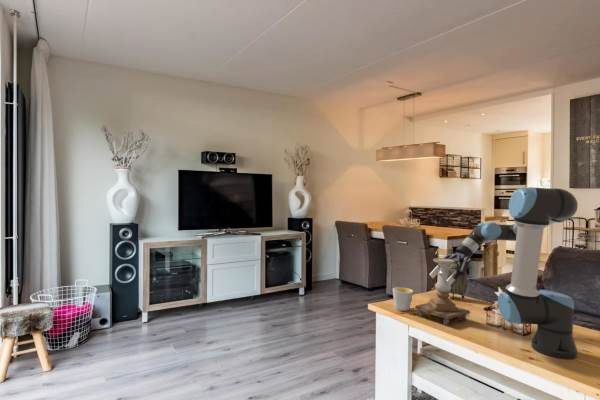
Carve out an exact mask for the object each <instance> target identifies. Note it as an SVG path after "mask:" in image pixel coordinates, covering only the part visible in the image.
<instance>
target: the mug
mask: <svg viewBox="0 0 600 400" xmlns="http://www.w3.org/2000/svg"><path fill="white" fill-rule="evenodd" d="M392 293H393V294H392V296H393V303H394V304H393V305H394V307H395V310H396V311H399V312H407V311H409V309H410V308H411V304H412V303H411V302H412V300H413V295H414V294H413V293H414V290H413V289H412V288H408V287H397V286H396V287H393V288H392Z"/></svg>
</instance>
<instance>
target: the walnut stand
mask: <svg viewBox="0 0 600 400" xmlns="http://www.w3.org/2000/svg"><path fill="white" fill-rule="evenodd" d="M414 307H415V310H417V311H418V313H417V314H418V317H419V318H424V316H425V313H427V314H429V315H433V316H436V317H439V318H442V319H443V322H442V323H443V324H442V325H443V326H445V327H449V326H450V320H452V319H454V318H458V317H459V318H460V321H462V322H466V321H467V315H469V314H470V313H471V311H470V309H466V308H462V307H459V306H456V307H457V308H458V309H457V312H444V311H434V310H433V309H432V308H431V307H430V306H429V305H428V302H427V303H421V304H417V305H415V306H414Z"/></svg>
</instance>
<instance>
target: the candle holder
mask: <svg viewBox="0 0 600 400" xmlns="http://www.w3.org/2000/svg"><path fill="white" fill-rule="evenodd" d="M432 261H433V262H434V263H436V262H437V263H438V264H439V266H440V270H439V272H438V275H439V278H438V280H437V282H436V283H435V289H436V290H437V291H436V293H435V294H436V297H434V298H430V299H429V300H428V301H427V303H428V305H429V306H430V307H431V308H432V309H433V310H434V311H444V312H457V309H458V308H457V307H458V306H456V305H457V304H456V303H454V302H453V301H452V300H451V299H450V298H449V297H450V296H451V295H450V293H448V291H450V290H451V285H449V284H448V282H447V281H446V280H447V277H448V274H449V272H448V267H450V266H451V264H454V263H455V260H452V259H445V258H443V257H442V258H441V257H440V258H439V257H436V258H433V260H432Z"/></svg>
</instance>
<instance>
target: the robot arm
mask: <svg viewBox="0 0 600 400" xmlns="http://www.w3.org/2000/svg"><path fill="white" fill-rule="evenodd" d="M578 206H579V204H578V201H577V197H575V195H574V194H572V193H571V192H570V191H568V190H566V189H563V188H548V187H532V186H531V187H519V188H518V189H516V190H515V191H514V192H513V193H512V194H511V196H510V199H509V202H508V210H509V215H510V216H511V217H513V221H514V223H513V224H498V223H496V222H494V221H493V222H487V223H483V222H480V223H478V224H477V225H476V226H475V227H474V228H473V230H472V231H471V232H470V233H469V234H468V235H467V236H466V237H465V238H464V239H463V240H462V242H461V243H460V244H459V245H458V246H457V247H456V249H455V253H453V252H452V251H451V252H449V253H448V254H446V255H445V256H444V257H442V258H445V259H452V260H455V263H457V270H456V271H457V272H456V271H454V273H453V274H452V275H451V276H450V277H449V278H448V279H447V280H446V281H447V282H448V284H449V285H451V284H452V283H453V282H454V281H455V279H457V278H458V277H459V275H462V274H463V275H465V273H466V272H467V270H468V267H469V264H470V263H471V261H472V259H471V257H472V256H473V255H474V254H475V252H476V251H477V250H478V249H479V248H480V247H481V246H482V245H483V243H485V242H488V241H513V242H515V245H514V254H513V262H512V271H511V278H510V283H509V284H507V285H506V286H505V291H502V292H500V293H499V294H498V296H497V307H498V310H499V312H500V315H501V316H502V318H503V320H504V321H506V322H507V323H510V324H516V325H517V324H518V325H520V324H521V325H522V324H523V325H524V324H525V325H537V326H536V330H535V332H534V335H533V337H531V341H530V343H531V348H532V349H533V350H535V351H536V352H538V353H540V354H543V355H546V356H549V357H553V358H557V359H567V360H568V359H570V360H572V359H576V358H577V357H578V348H577V345H576V341H575V340H574V339H575V338H574V336H573V331H574V330H573V329H574V312H575V311H574V310H575V302H574V299H573V298H572V297H571V296H569V295H567V294H563V293H560V292H556V291H553V290H547V289H539V290H538V289H537V284H538V283H537V281H538V276H539V275H538V274H539V267H540V259H541V251H542V243H543V239H544V238H543V236H544V229H545V228H547V227H549V226H551V225H553V224H555V223H563V222H565V221H568V220H569V219H571V218H572V217H573V216H575V214H576V213H577V212H578ZM435 265H436V266H435V267H434V268H433V270H432V271H431V272H430V273H429V274H428V275H429V276H430V277H431V279H434V278H435V277H436V276H437V275H439V273H438V272H439V270H440V266H439V264H438V263H437V262H435Z"/></svg>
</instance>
